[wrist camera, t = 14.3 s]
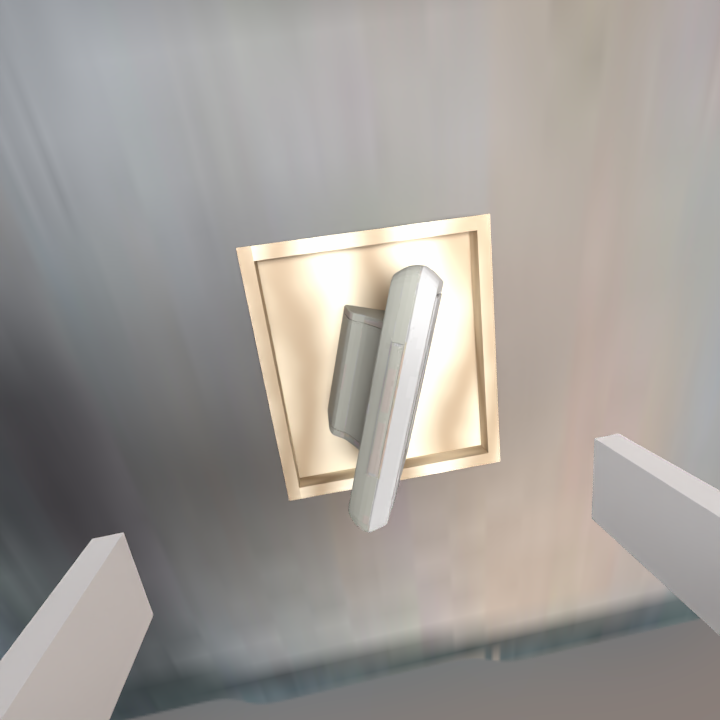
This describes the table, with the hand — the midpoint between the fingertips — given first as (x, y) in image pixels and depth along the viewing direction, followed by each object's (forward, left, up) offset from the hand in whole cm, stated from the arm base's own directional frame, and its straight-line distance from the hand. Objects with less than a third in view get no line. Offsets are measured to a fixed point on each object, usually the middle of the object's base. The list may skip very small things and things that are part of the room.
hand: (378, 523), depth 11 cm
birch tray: (+4, +1, -22) cm, 22 cm away
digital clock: (+4, 0, -21) cm, 21 cm away
